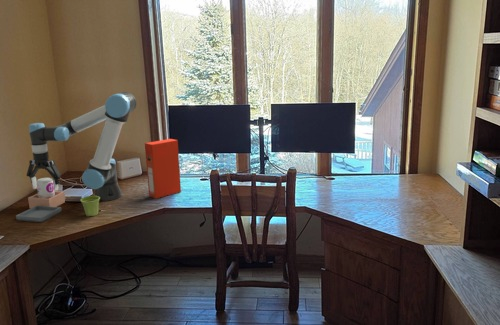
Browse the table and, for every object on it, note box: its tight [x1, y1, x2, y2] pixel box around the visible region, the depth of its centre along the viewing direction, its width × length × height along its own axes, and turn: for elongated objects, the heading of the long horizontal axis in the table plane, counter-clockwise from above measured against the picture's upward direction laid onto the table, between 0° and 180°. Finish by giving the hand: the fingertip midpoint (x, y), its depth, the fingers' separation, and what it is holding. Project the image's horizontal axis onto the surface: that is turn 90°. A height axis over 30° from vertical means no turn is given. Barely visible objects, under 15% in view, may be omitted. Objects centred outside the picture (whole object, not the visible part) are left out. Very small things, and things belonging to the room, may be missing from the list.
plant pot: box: [80, 195, 100, 217], centre depth 211 cm, size 9×9×9 cm
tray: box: [15, 206, 63, 223], centre depth 211 cm, size 15×15×2 cm
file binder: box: [144, 138, 182, 200], centre depth 239 cm, size 8×17×32 cm, turn 135°
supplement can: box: [36, 177, 55, 199], centre depth 225 cm, size 8×8×15 cm
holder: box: [27, 190, 66, 209], centre depth 226 cm, size 13×13×6 cm
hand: (45, 189), depth 225 cm, fingers open, 13 cm apart
